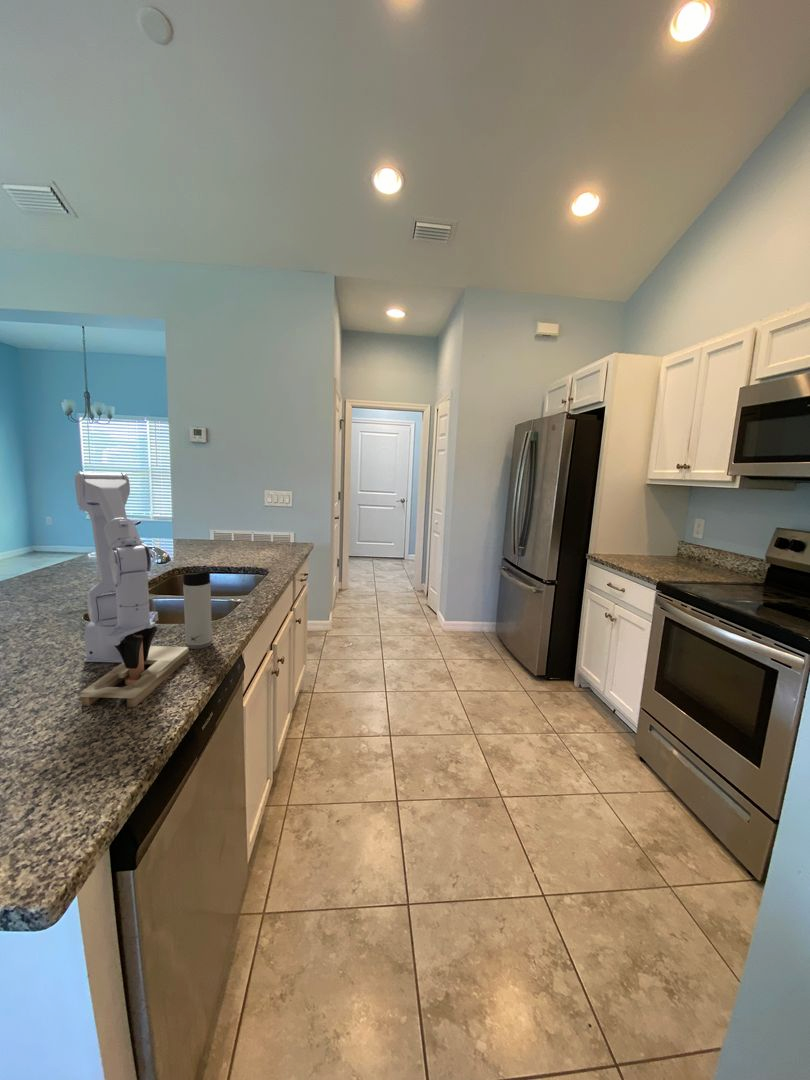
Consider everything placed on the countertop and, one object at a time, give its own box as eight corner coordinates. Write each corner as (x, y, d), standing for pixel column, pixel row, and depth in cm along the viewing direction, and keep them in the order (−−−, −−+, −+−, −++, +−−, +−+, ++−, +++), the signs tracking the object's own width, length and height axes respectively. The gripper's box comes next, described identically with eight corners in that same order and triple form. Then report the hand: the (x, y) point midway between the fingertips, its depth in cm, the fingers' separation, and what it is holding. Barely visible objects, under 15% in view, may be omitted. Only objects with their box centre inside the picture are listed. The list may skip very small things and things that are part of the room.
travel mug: (195, 651, 108) (192, 574, 105) (180, 645, 112) (177, 570, 109) (218, 644, 114) (215, 570, 110) (202, 638, 117) (200, 566, 114)
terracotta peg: (120, 686, 90) (117, 641, 89) (132, 676, 95) (130, 633, 93) (141, 686, 90) (139, 641, 89) (153, 676, 95) (151, 633, 93)
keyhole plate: (81, 705, 83) (80, 692, 82) (147, 656, 105) (146, 645, 104) (134, 707, 83) (133, 693, 83) (188, 658, 105) (188, 647, 104)
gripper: (131, 615, 83) (135, 681, 85) (170, 593, 97) (173, 650, 99) (93, 613, 82) (98, 680, 85) (138, 592, 97) (142, 649, 99)
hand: (136, 664), depth 92 cm, fingers closed on terracotta peg, 3 cm apart
